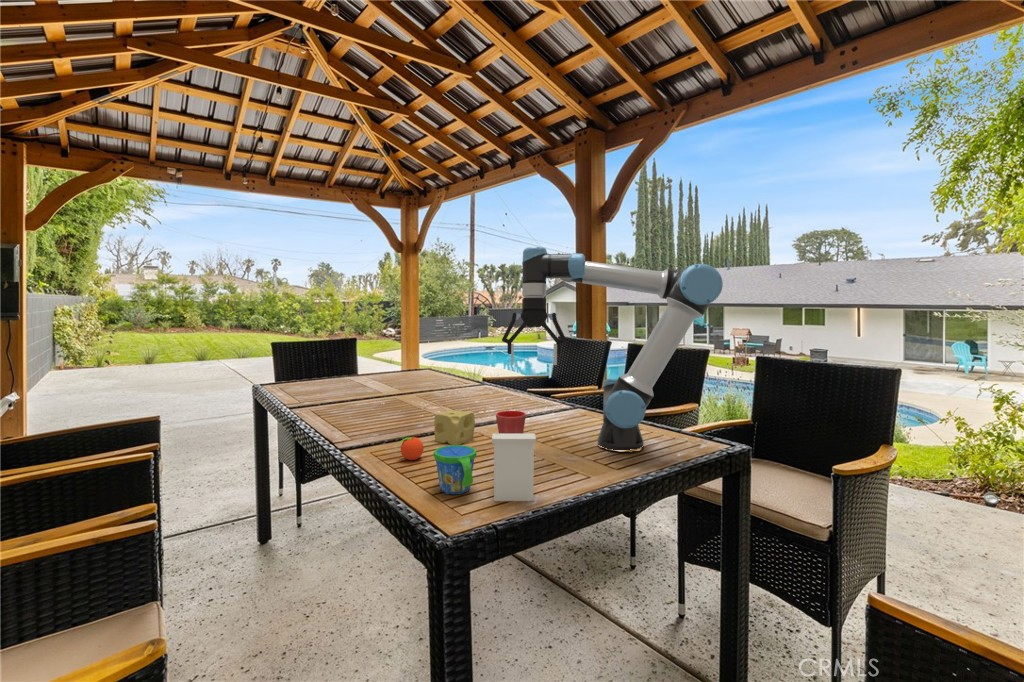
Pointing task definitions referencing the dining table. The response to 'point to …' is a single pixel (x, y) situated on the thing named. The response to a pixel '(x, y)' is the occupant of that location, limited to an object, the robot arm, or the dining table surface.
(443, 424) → the cheese
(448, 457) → the snack cup
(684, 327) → the robot arm
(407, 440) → the clementine
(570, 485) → the dining table surface
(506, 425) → the flower pot
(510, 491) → the tall white pillar
